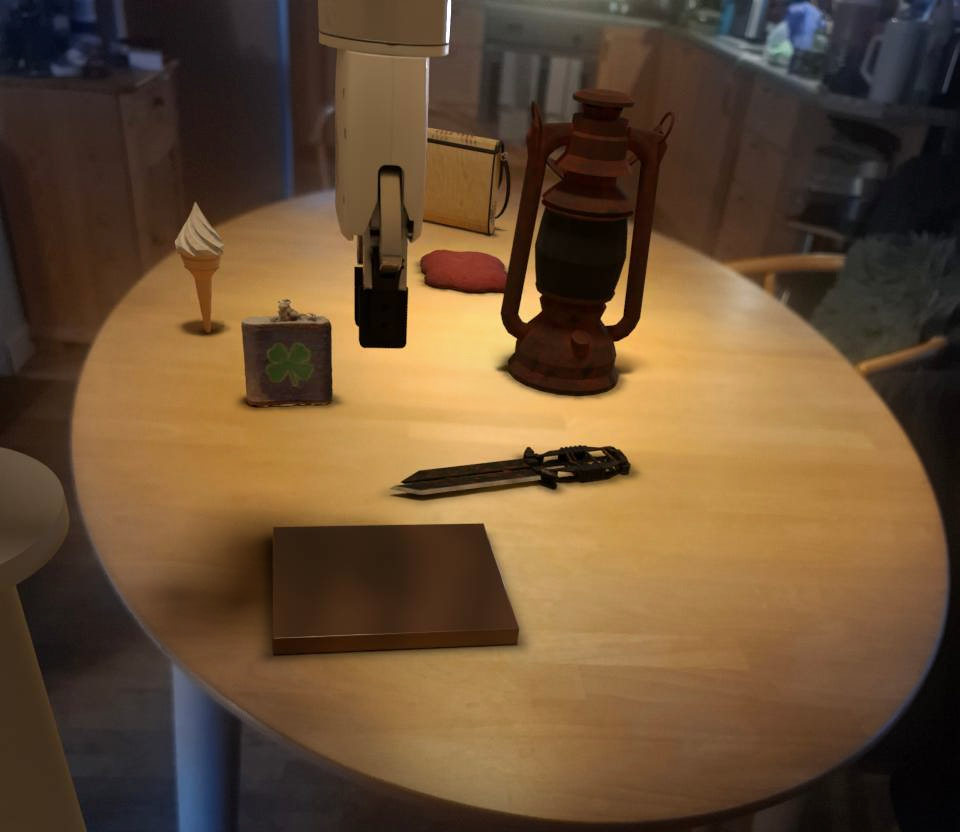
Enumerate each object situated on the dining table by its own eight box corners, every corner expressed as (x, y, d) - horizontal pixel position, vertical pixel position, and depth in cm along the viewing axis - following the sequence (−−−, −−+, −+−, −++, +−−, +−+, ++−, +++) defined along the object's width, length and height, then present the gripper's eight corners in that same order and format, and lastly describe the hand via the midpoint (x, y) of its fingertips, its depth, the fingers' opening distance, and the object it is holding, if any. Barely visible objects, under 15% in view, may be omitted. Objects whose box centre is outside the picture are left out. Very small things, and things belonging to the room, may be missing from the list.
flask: (247, 407, 95) (240, 306, 88) (245, 396, 97) (238, 296, 90) (334, 405, 97) (333, 306, 91) (330, 394, 99) (329, 296, 93)
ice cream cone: (176, 328, 110) (160, 197, 101) (217, 321, 114) (205, 193, 104) (199, 343, 107) (184, 209, 98) (240, 335, 111) (230, 204, 101)
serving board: (273, 654, 64) (272, 638, 63) (273, 541, 75) (272, 526, 74) (517, 644, 67) (519, 628, 66) (482, 537, 79) (483, 523, 78)
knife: (394, 503, 82) (394, 489, 81) (378, 469, 87) (378, 456, 86) (638, 482, 89) (641, 470, 89) (611, 452, 94) (614, 440, 93)
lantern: (505, 394, 103) (539, 96, 85) (484, 350, 114) (510, 76, 95) (646, 396, 107) (708, 109, 88) (612, 352, 117) (661, 88, 99)
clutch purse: (512, 230, 161) (521, 137, 152) (497, 238, 156) (506, 143, 147) (369, 200, 170) (370, 110, 160) (350, 207, 164) (350, 114, 155)
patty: (519, 295, 133) (520, 281, 131) (427, 291, 130) (427, 277, 129) (499, 260, 146) (501, 247, 145) (415, 256, 144) (416, 243, 142)
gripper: (312, 1, 56) (320, 296, 68) (325, 27, 44) (332, 383, 55) (429, 11, 58) (417, 298, 69) (474, 39, 45) (450, 384, 57)
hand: (379, 333), depth 62 cm, fingers open, 3 cm apart
